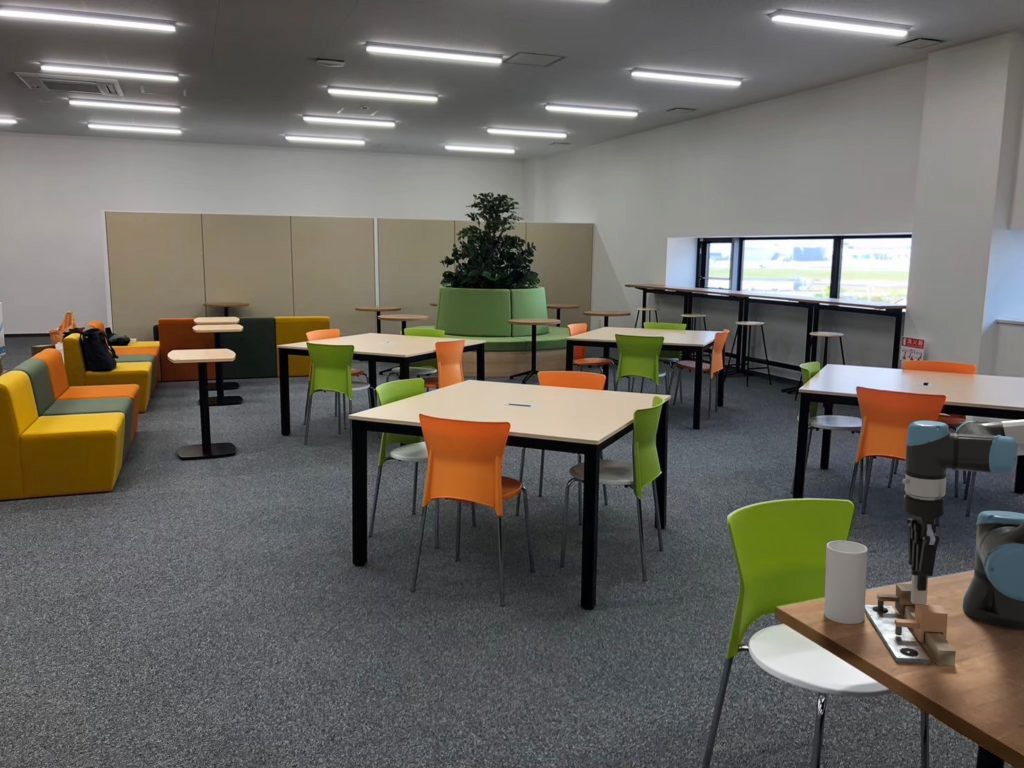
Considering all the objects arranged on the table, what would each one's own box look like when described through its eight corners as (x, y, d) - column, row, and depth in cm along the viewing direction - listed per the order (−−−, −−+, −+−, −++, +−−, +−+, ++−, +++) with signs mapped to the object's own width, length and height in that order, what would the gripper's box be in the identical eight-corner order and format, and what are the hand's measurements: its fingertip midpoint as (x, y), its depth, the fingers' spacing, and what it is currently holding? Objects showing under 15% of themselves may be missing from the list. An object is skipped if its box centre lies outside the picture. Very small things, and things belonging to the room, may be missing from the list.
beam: (912, 611, 175) (913, 598, 175) (954, 665, 151) (955, 651, 150) (898, 610, 176) (899, 597, 175) (938, 664, 151) (938, 650, 151)
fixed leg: (918, 608, 174) (919, 584, 174) (924, 616, 170) (925, 591, 170) (874, 606, 176) (876, 582, 175) (880, 614, 172) (881, 589, 171)
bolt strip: (891, 610, 176) (891, 605, 176) (929, 664, 152) (929, 658, 151) (862, 608, 177) (863, 603, 177) (896, 662, 153) (896, 656, 152)
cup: (868, 625, 169) (871, 554, 167) (828, 622, 170) (830, 552, 168) (859, 609, 177) (862, 541, 174) (821, 607, 178) (823, 539, 176)
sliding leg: (938, 634, 162) (940, 605, 161) (945, 643, 158) (947, 613, 157) (892, 632, 163) (893, 603, 162) (898, 641, 159) (899, 611, 159)
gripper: (895, 486, 171) (890, 589, 174) (915, 503, 158) (909, 614, 161) (932, 487, 169) (927, 591, 173) (955, 504, 157) (948, 616, 160)
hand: (918, 602), depth 167 cm, fingers closed
